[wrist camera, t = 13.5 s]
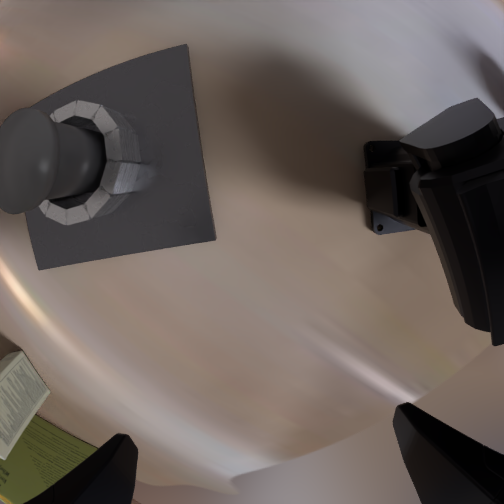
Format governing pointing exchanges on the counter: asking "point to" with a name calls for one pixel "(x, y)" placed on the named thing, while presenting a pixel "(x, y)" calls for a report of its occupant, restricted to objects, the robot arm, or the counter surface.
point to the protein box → (39, 461)
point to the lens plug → (46, 160)
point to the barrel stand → (130, 165)
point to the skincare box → (18, 398)
